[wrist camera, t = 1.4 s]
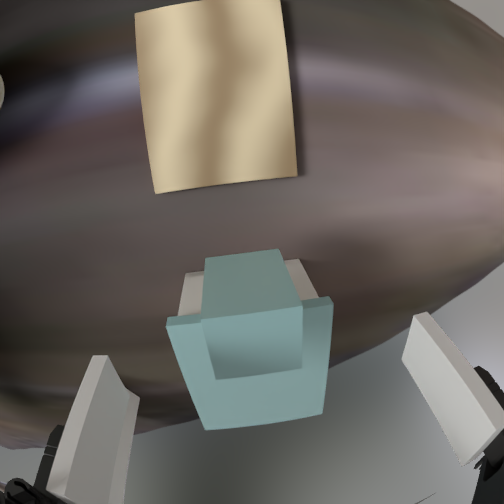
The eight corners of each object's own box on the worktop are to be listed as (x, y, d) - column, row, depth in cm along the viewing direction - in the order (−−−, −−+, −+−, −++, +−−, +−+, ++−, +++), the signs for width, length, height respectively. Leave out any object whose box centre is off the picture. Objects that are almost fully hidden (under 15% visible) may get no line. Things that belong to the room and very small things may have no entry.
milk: (81, 387, 32) (39, 532, 12) (103, 370, 30) (58, 538, 10) (117, 411, 34) (91, 552, 14) (141, 397, 33) (119, 558, 13)
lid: (205, 421, 25) (205, 475, 20) (152, 264, 18) (129, 325, 12) (319, 406, 25) (335, 456, 20) (330, 241, 18) (371, 293, 13)
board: (157, 191, 23) (155, 194, 22) (137, 16, 16) (134, 13, 16) (294, 174, 23) (297, 176, 23) (277, -1, 17) (279, -4, 16)
